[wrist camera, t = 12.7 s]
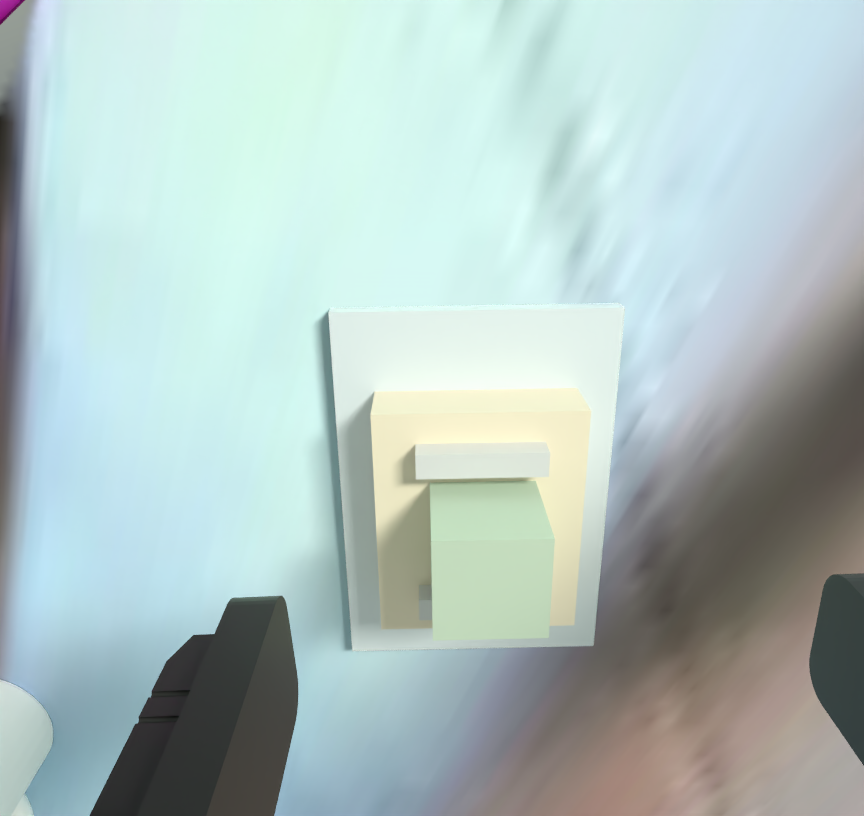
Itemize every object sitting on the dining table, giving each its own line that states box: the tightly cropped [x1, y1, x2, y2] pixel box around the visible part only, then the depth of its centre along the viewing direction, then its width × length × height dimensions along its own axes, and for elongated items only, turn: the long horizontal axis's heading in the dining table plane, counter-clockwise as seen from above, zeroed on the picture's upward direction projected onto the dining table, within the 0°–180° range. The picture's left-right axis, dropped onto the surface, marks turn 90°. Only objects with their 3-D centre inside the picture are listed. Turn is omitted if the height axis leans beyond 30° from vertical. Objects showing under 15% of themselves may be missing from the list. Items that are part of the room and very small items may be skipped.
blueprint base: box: [328, 303, 625, 651], centre depth 35 cm, size 14×20×5 cm
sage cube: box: [430, 481, 555, 641], centre depth 31 cm, size 5×5×5 cm
